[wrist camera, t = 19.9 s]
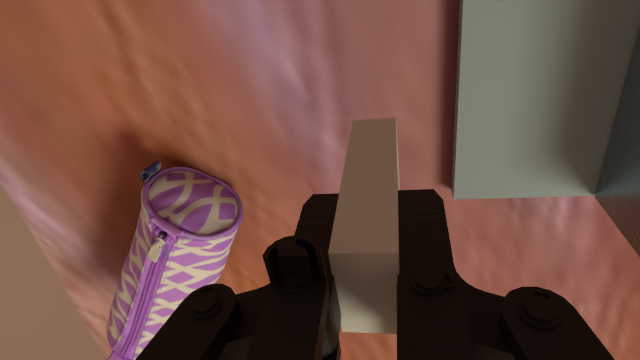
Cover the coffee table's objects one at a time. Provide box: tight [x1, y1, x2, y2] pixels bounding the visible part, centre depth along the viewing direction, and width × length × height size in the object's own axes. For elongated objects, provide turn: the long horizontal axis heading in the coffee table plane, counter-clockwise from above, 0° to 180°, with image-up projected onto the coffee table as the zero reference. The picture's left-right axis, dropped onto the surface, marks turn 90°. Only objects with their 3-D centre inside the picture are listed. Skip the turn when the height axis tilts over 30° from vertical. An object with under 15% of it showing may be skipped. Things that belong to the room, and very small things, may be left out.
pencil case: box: [106, 161, 243, 360], centre depth 39 cm, size 22×9×10 cm, turn 156°
